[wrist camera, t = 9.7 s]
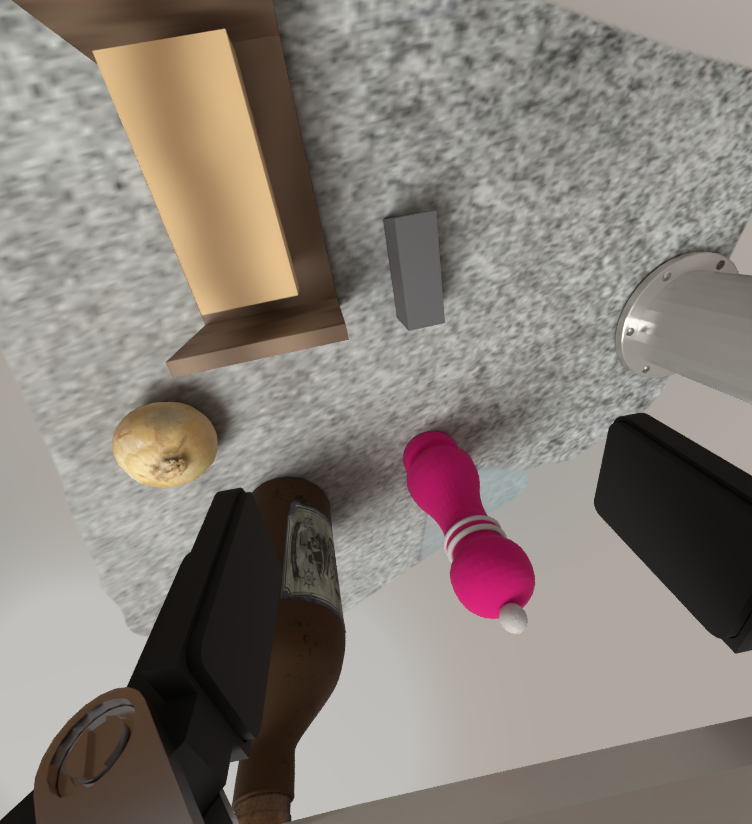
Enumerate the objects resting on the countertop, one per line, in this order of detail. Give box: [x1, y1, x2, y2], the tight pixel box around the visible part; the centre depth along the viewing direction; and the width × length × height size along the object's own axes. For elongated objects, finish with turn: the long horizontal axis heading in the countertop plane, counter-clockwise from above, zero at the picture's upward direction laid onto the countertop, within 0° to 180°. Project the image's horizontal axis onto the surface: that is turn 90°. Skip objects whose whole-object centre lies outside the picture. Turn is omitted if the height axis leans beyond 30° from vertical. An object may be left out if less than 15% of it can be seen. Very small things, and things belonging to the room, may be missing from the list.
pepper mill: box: [403, 431, 535, 634], centre depth 31 cm, size 7×7×20 cm
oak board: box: [92, 29, 299, 315], centre depth 20 cm, size 6×12×2 cm, turn 10°
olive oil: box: [232, 478, 346, 824], centre depth 30 cm, size 11×11×25 cm
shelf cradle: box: [12, 0, 349, 377], centre depth 22 cm, size 11×18×10 cm, turn 10°
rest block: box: [383, 210, 445, 331], centre depth 28 cm, size 3×8×4 cm, turn 10°
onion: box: [112, 402, 218, 488], centre depth 31 cm, size 8×8×7 cm
